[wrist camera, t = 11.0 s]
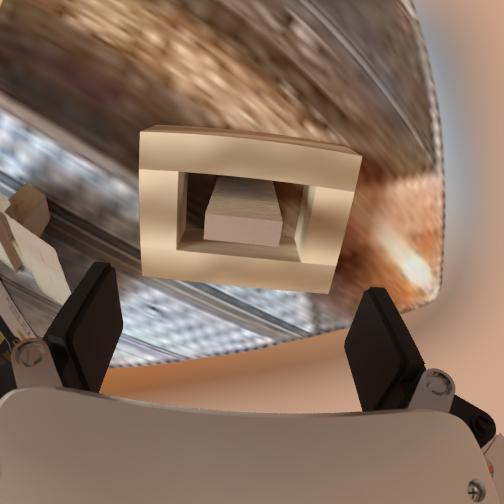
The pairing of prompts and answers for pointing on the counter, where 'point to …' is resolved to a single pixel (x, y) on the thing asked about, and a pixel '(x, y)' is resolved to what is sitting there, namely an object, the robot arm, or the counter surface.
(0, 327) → the tea box
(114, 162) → the counter surface
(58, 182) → the counter surface
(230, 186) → the wood grain block
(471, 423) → the robot arm
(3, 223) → the beige double panel block
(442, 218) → the counter surface
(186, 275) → the well block
